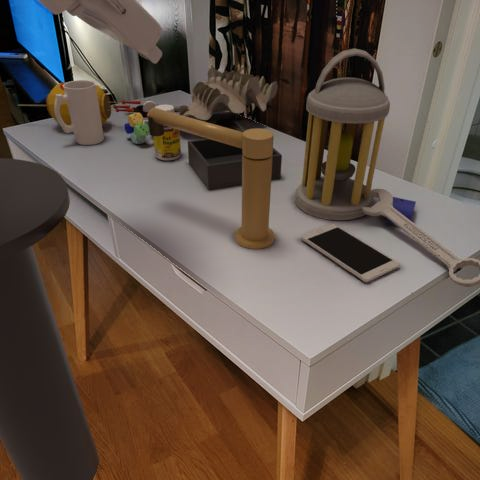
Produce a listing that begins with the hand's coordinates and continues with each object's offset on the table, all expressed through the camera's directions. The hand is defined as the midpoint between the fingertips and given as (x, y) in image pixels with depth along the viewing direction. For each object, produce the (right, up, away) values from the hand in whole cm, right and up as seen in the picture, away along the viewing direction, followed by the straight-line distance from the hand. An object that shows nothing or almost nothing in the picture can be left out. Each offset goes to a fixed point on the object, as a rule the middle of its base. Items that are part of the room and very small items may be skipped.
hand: (153, 56), depth 64 cm
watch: (-11, +19, +58) cm, 62 cm away
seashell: (+6, +13, +58) cm, 60 cm away
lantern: (+29, -13, +26) cm, 41 cm away
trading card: (-5, +13, +56) cm, 57 cm away
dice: (-12, +6, +47) cm, 49 cm away
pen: (-4, +18, +64) cm, 67 cm away
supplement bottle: (-4, 0, +41) cm, 41 cm away
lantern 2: (-12, +15, +50) cm, 53 cm away
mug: (-24, +6, +47) cm, 53 cm away
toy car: (+10, +9, +51) cm, 53 cm away
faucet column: (+14, -22, +16) cm, 30 cm away
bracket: (+40, -16, +22) cm, 48 cm away
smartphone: (+28, -25, +12) cm, 40 cm away
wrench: (+40, -22, +14) cm, 48 cm away
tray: (+10, -4, +36) cm, 37 cm away
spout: (+6, -8, +12) cm, 16 cm away
